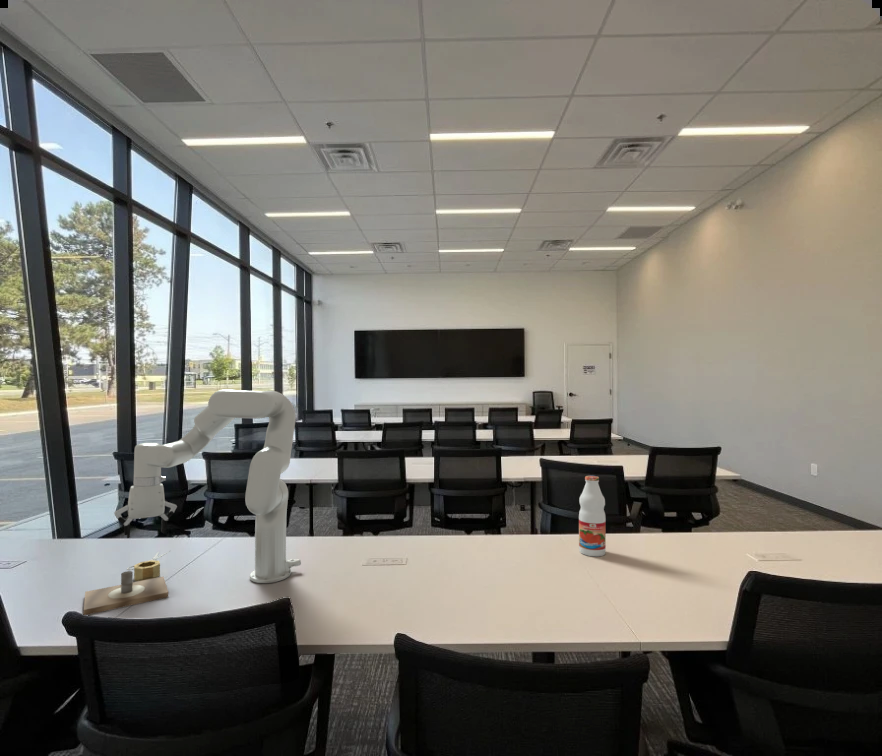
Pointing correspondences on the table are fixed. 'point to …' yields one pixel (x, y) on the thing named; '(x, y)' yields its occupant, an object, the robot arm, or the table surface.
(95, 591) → the post plate
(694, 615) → the table surface
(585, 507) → the fruit juice
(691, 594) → the table surface
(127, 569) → the scissors
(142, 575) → the ring
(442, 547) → the table surface
